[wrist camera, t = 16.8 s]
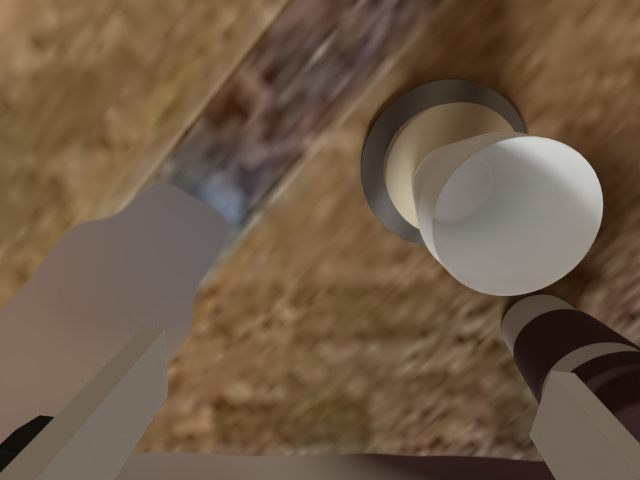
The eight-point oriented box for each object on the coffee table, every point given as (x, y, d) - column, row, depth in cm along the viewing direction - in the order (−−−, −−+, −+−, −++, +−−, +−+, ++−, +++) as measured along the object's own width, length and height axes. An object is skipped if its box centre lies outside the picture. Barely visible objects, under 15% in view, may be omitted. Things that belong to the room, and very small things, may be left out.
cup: (374, 187, 31) (393, 225, 20) (456, 103, 29) (530, 91, 17) (447, 256, 33) (503, 328, 21) (530, 181, 30) (643, 217, 19)
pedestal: (346, 228, 37) (347, 240, 33) (380, 65, 32) (385, 58, 28) (494, 255, 37) (512, 271, 33) (549, 97, 32) (577, 93, 28)
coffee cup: (471, 306, 38) (548, 414, 24) (566, 264, 36) (711, 355, 22) (507, 376, 41) (596, 513, 27) (597, 340, 39) (746, 467, 25)
